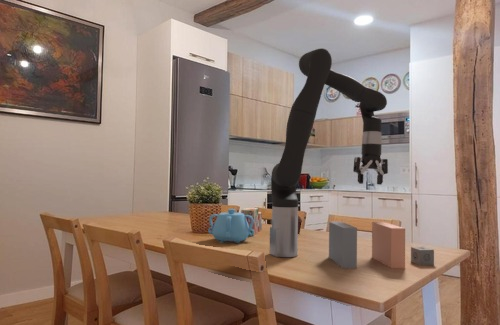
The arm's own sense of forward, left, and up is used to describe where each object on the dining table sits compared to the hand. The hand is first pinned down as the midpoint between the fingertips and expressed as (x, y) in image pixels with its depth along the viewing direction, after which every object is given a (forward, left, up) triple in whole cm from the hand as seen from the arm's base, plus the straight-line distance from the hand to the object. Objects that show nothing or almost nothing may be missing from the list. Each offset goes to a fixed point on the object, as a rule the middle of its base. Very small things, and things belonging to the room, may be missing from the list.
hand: (370, 184), depth 146 cm
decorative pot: (-49, +28, -26) cm, 62 cm away
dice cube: (+2, -25, -26) cm, 36 cm away
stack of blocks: (-33, +48, -26) cm, 64 cm away
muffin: (-16, +39, -26) cm, 50 cm away
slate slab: (-24, -18, -26) cm, 39 cm away
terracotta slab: (-9, -22, -26) cm, 35 cm away
